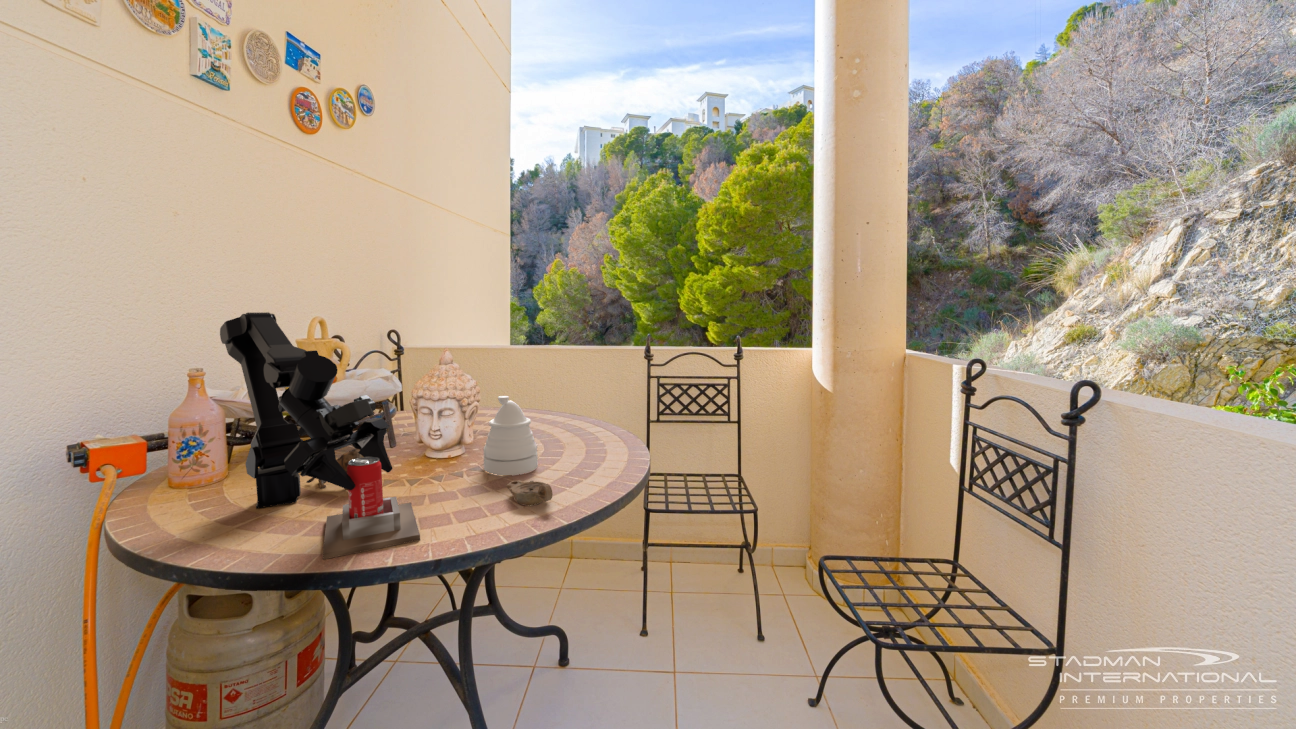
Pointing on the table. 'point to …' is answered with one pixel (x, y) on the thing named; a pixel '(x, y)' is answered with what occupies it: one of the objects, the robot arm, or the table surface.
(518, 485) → the oil lamp
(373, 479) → the beverage can
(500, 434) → the honey pot
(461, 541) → the table surface
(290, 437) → the robot arm
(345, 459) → the lion figurine
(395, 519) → the can socket board
